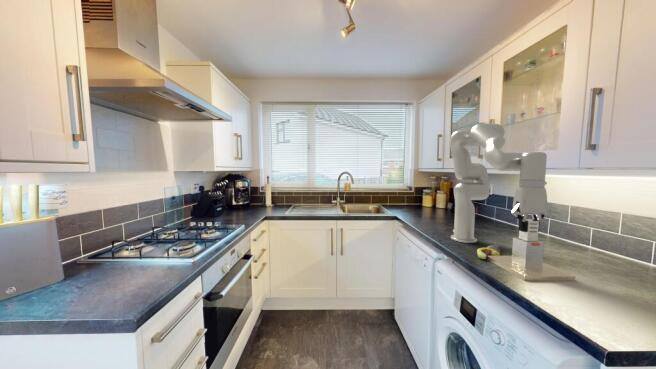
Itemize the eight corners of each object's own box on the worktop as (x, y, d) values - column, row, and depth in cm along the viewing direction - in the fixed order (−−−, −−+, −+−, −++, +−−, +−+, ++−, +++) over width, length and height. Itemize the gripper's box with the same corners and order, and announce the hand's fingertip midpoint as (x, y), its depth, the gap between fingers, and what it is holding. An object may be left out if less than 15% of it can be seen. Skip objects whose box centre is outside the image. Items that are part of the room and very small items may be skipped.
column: (517, 255, 96) (519, 219, 95) (527, 255, 96) (530, 219, 95) (526, 259, 92) (528, 221, 91) (537, 259, 92) (539, 221, 91)
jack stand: (486, 259, 104) (487, 233, 103) (527, 259, 104) (529, 233, 104) (524, 280, 84) (526, 248, 83) (575, 280, 84) (577, 248, 84)
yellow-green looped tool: (493, 244, 121) (470, 256, 107) (493, 239, 121) (471, 250, 106) (511, 250, 115) (490, 263, 100) (512, 245, 115) (491, 257, 100)
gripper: (544, 183, 96) (541, 228, 97) (502, 183, 96) (500, 228, 97) (562, 185, 88) (559, 233, 90) (517, 185, 88) (514, 233, 89)
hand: (528, 230), depth 93 cm, fingers closed on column, 4 cm apart
